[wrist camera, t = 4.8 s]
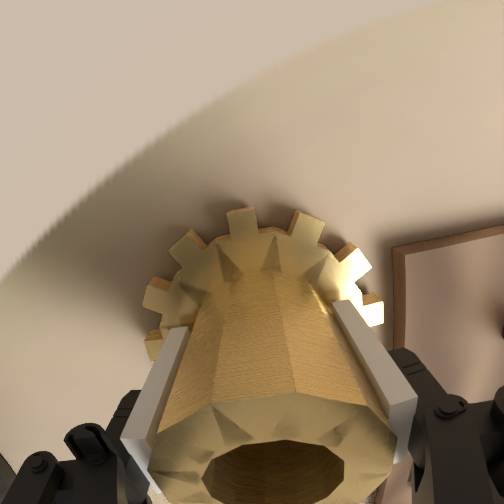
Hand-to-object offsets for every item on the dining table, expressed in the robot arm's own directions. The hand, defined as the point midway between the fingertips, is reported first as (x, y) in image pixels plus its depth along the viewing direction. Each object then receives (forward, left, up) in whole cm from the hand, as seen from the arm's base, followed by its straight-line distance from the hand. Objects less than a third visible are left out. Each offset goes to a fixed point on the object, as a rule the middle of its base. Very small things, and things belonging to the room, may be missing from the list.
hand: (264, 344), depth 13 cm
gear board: (+15, -9, -2) cm, 18 cm away
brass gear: (0, 0, -2) cm, 2 cm away
